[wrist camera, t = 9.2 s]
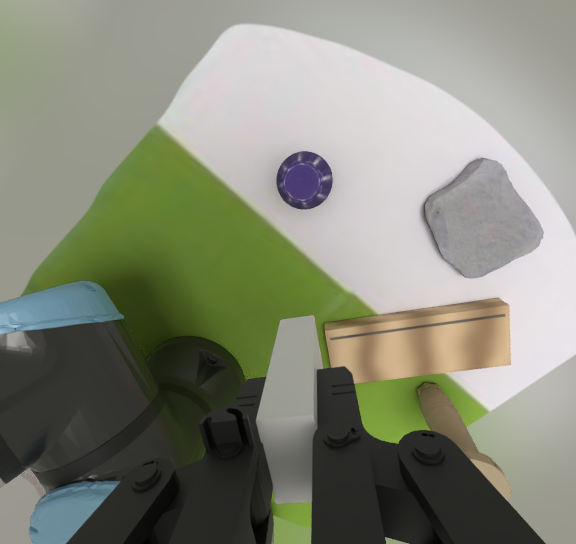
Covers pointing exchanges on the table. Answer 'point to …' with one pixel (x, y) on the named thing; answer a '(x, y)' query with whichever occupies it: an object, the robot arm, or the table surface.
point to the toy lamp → (304, 180)
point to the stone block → (482, 220)
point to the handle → (458, 433)
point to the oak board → (422, 341)
